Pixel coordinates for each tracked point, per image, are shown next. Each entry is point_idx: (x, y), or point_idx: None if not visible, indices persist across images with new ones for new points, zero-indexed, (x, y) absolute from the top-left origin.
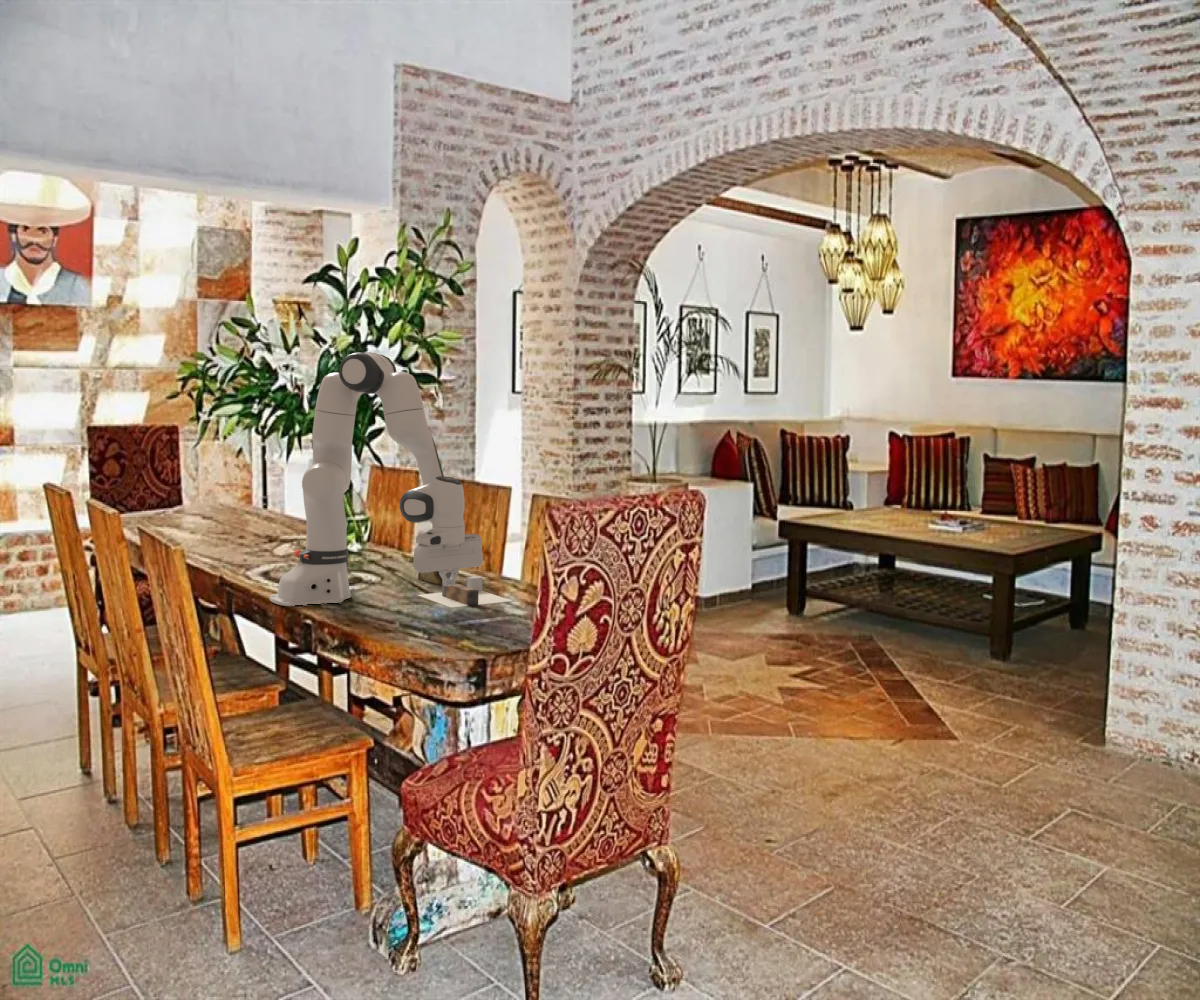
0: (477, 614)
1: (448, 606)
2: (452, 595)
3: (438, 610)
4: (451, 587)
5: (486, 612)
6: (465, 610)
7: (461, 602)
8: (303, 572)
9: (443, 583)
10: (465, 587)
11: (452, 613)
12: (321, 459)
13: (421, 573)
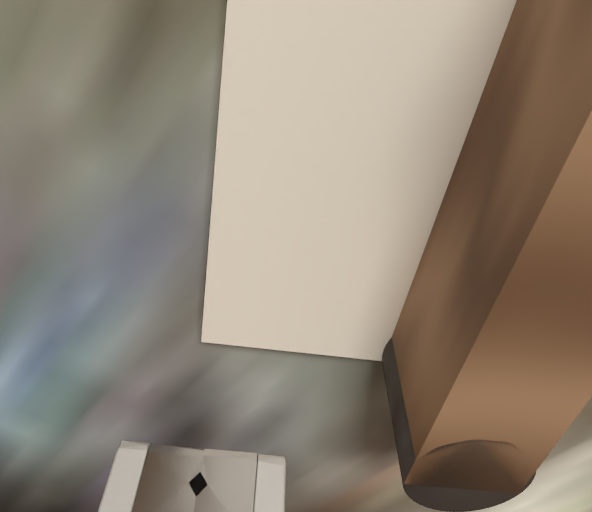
0: (286, 472)
1: (204, 303)
2: (513, 83)
3: (100, 268)
4: (578, 93)
5: (378, 464)
6: (306, 371)
7: (421, 262)
8: None
9: (114, 476)
10: (584, 339)
11: (151, 391)
12: None
13: None
